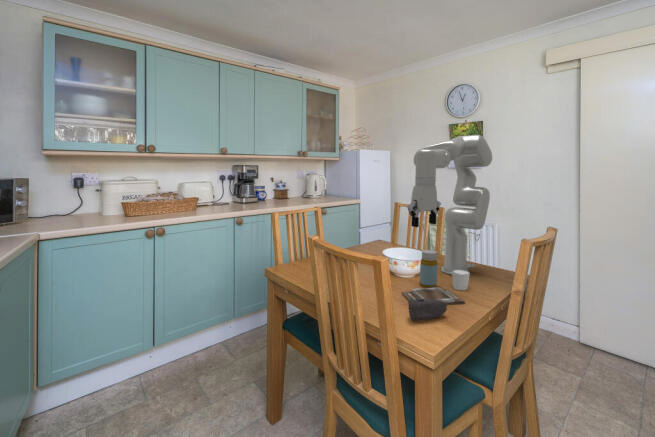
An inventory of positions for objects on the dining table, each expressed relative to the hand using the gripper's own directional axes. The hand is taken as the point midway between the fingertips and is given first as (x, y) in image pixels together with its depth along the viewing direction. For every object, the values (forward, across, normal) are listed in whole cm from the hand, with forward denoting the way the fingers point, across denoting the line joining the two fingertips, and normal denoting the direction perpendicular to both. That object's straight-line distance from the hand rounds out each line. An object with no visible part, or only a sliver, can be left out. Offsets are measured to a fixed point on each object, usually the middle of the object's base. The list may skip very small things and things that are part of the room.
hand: (423, 225), depth 125 cm
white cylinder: (+28, -17, +6) cm, 33 cm away
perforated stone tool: (+28, +17, +18) cm, 37 cm away
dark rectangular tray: (+28, +2, +8) cm, 29 cm away
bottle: (+28, -8, -4) cm, 29 cm away
